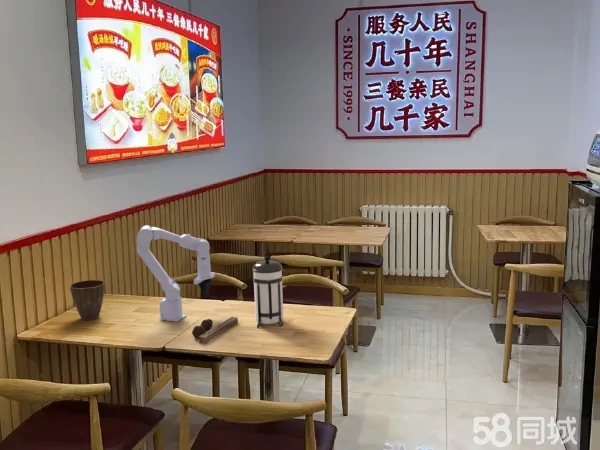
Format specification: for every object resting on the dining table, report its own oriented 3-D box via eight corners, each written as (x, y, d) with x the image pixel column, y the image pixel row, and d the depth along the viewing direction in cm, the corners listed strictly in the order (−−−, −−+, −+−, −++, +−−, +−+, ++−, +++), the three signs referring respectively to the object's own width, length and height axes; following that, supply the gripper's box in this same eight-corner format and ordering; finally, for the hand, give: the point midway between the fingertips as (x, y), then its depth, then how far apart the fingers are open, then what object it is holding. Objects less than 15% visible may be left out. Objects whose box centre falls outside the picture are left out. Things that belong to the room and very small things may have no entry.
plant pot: (68, 317, 270) (65, 283, 267) (100, 310, 279) (98, 278, 276) (78, 325, 258) (75, 290, 255) (111, 318, 267) (109, 284, 264)
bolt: (211, 330, 253) (200, 342, 238) (201, 324, 253) (189, 335, 238) (217, 319, 251) (206, 330, 237) (207, 313, 252) (196, 323, 237)
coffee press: (243, 325, 253) (240, 257, 248) (269, 315, 264) (267, 250, 259) (271, 333, 241) (268, 262, 236) (298, 323, 252) (295, 255, 247)
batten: (199, 342, 233) (198, 336, 233) (231, 322, 257) (231, 316, 256) (205, 343, 232) (205, 337, 232) (237, 322, 256) (237, 316, 255)
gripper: (202, 271, 255) (204, 301, 257) (220, 263, 268) (221, 292, 270) (189, 269, 257) (190, 299, 260) (206, 262, 270) (208, 290, 273)
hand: (205, 295), depth 265 cm, fingers closed
